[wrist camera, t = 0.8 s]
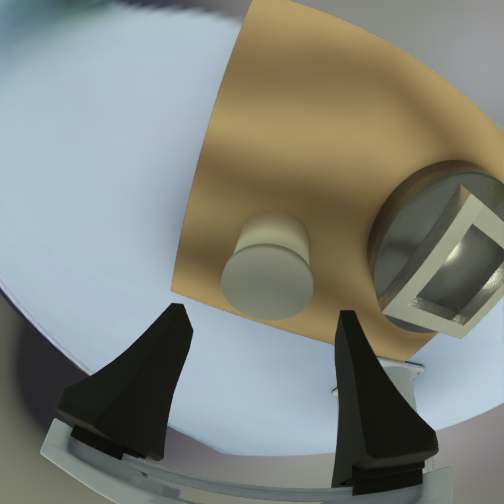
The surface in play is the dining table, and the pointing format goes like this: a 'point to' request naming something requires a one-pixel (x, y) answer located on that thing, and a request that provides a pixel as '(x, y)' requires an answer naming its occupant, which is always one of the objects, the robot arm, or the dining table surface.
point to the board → (320, 159)
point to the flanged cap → (269, 268)
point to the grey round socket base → (439, 249)
